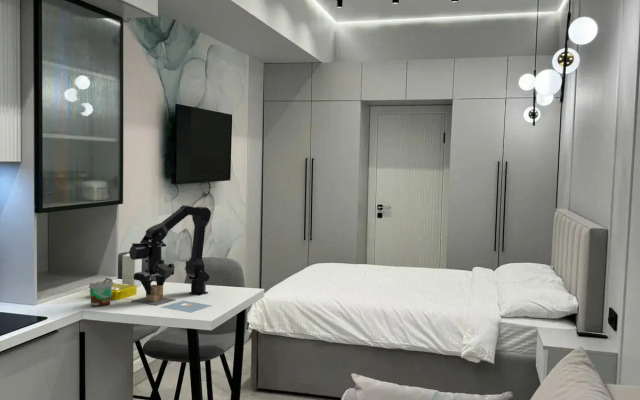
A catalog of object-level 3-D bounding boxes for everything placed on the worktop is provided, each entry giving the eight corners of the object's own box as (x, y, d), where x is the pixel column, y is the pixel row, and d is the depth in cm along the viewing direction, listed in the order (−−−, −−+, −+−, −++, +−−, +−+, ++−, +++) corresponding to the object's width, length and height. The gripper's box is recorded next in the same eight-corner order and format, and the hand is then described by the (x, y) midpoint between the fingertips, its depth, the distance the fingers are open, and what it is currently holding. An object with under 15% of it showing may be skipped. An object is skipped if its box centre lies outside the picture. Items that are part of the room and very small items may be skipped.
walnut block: (154, 298, 254) (154, 284, 254) (162, 299, 252) (163, 286, 252) (145, 300, 250) (145, 286, 250) (154, 301, 248) (154, 287, 247)
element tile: (138, 294, 264) (138, 284, 264) (117, 301, 250) (117, 290, 250) (110, 291, 269) (110, 281, 269) (88, 298, 255) (88, 287, 254)
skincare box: (129, 284, 283) (129, 252, 282) (142, 285, 282) (142, 253, 281) (121, 288, 275) (121, 255, 274) (134, 288, 274) (135, 255, 273)
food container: (102, 308, 236) (102, 284, 235) (88, 307, 237) (89, 283, 236) (119, 302, 248) (119, 278, 247) (105, 301, 249) (106, 277, 248)
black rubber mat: (151, 296, 260) (151, 295, 259) (176, 300, 253) (176, 299, 253) (131, 301, 249) (131, 300, 249) (156, 306, 242) (156, 305, 242)
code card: (183, 301, 253) (183, 300, 252) (212, 306, 245) (212, 305, 245) (160, 307, 240) (160, 307, 240) (190, 313, 233) (190, 312, 233)
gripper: (153, 262, 238) (152, 300, 239) (183, 256, 254) (183, 292, 255) (132, 259, 243) (132, 296, 244) (164, 254, 260) (164, 289, 260)
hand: (154, 293), depth 251 cm, fingers open, 6 cm apart
